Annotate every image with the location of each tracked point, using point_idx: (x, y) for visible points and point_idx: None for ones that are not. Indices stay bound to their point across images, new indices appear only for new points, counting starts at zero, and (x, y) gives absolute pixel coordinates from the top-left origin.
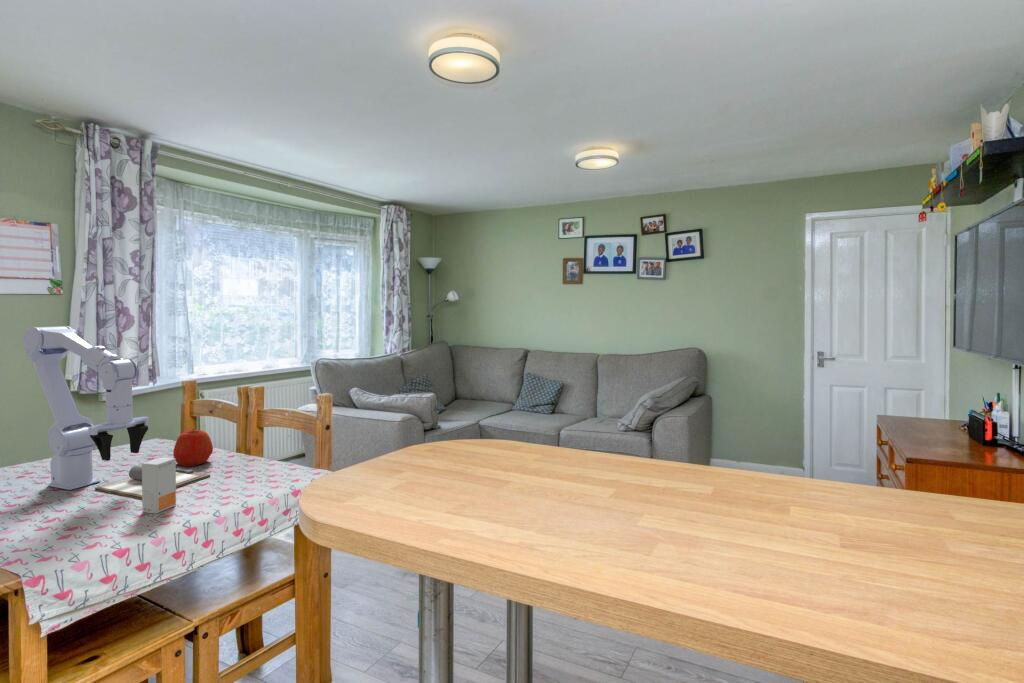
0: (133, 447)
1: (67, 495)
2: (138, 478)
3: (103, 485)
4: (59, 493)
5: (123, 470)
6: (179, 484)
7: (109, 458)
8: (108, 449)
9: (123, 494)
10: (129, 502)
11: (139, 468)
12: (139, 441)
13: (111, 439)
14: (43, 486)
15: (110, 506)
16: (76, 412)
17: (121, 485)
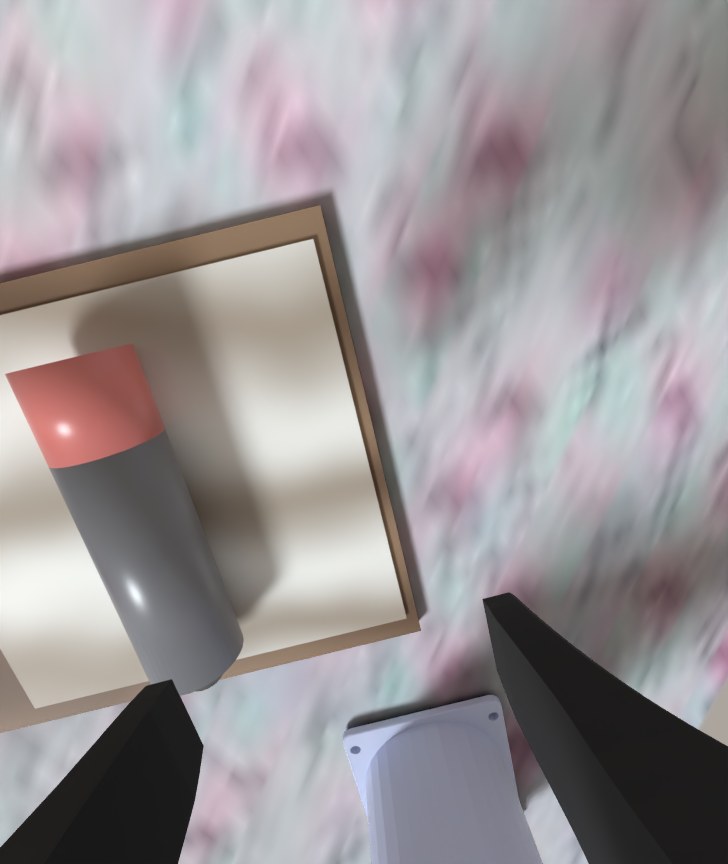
0: (164, 781)
1: None
2: (214, 560)
3: (375, 636)
4: None
5: (189, 837)
6: (24, 283)
7: (496, 606)
8: (583, 682)
9: (366, 401)
10: (402, 218)
11: (178, 626)
12: (50, 828)
13: (691, 860)
14: None
15: (505, 239)
16: None
17: (317, 555)
